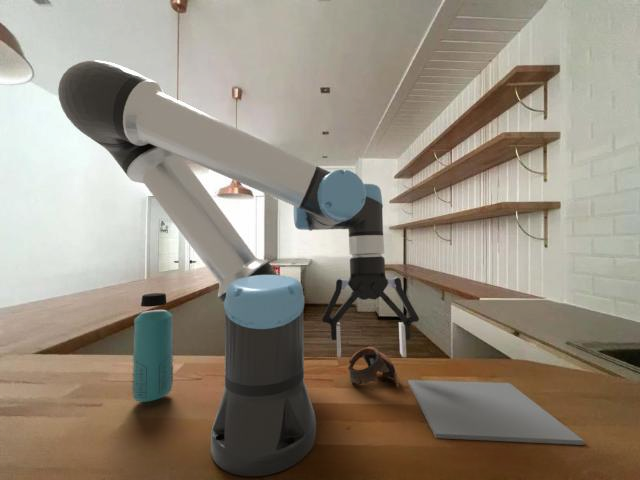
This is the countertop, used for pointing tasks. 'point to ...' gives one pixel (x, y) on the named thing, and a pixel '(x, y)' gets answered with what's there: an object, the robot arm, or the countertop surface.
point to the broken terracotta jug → (371, 366)
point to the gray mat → (487, 413)
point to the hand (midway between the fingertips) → (370, 355)
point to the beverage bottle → (152, 351)
